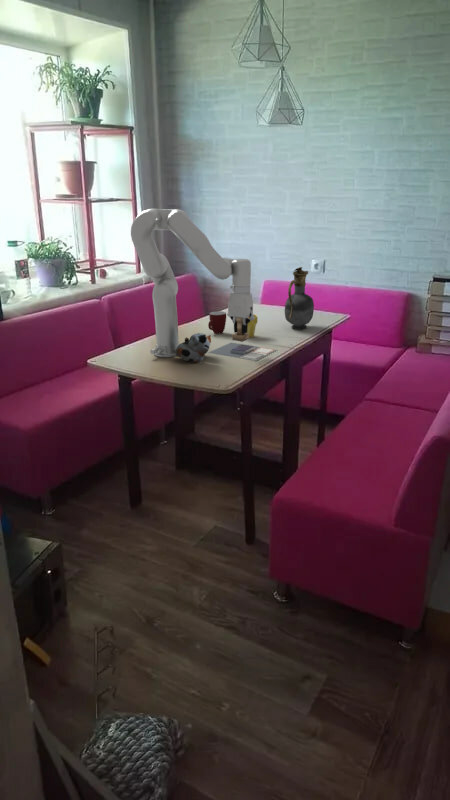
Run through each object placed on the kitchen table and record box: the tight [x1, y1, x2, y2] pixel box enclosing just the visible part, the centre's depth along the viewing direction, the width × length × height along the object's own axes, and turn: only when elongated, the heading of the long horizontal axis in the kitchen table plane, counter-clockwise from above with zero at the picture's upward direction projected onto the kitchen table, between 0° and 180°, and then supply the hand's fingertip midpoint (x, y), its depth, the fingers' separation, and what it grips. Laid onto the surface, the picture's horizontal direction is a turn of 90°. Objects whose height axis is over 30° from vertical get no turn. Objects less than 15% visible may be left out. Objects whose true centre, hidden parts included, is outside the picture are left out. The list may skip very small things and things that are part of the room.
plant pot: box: [247, 313, 258, 339], centre depth 279 cm, size 10×10×10 cm
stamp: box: [231, 317, 250, 343], centre depth 252 cm, size 5×5×11 cm
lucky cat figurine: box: [173, 332, 212, 364], centre depth 247 cm, size 15×12×14 cm
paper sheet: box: [239, 346, 277, 361], centre depth 252 cm, size 17×8×1 cm, turn 146°
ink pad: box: [230, 343, 255, 355], centre depth 256 cm, size 9×7×2 cm
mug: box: [208, 310, 227, 335], centre depth 284 cm, size 10×8×10 cm
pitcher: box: [284, 266, 315, 331], centre depth 286 cm, size 11×19×30 cm, turn 147°
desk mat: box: [207, 342, 277, 363], centre depth 256 cm, size 18×24×1 cm
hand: (240, 332), depth 253 cm, fingers closed on stamp, 3 cm apart
